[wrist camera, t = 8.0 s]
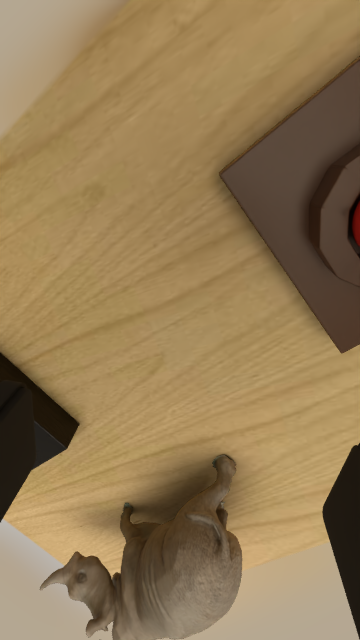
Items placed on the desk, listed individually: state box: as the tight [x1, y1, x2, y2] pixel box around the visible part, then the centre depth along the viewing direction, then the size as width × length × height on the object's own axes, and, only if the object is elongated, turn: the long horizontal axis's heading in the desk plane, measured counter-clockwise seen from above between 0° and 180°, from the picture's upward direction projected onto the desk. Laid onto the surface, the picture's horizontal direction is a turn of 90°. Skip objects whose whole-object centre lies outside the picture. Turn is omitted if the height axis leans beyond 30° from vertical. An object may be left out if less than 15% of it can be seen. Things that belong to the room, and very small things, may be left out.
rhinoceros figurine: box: [40, 455, 242, 640], centre depth 26 cm, size 8×14×15 cm
